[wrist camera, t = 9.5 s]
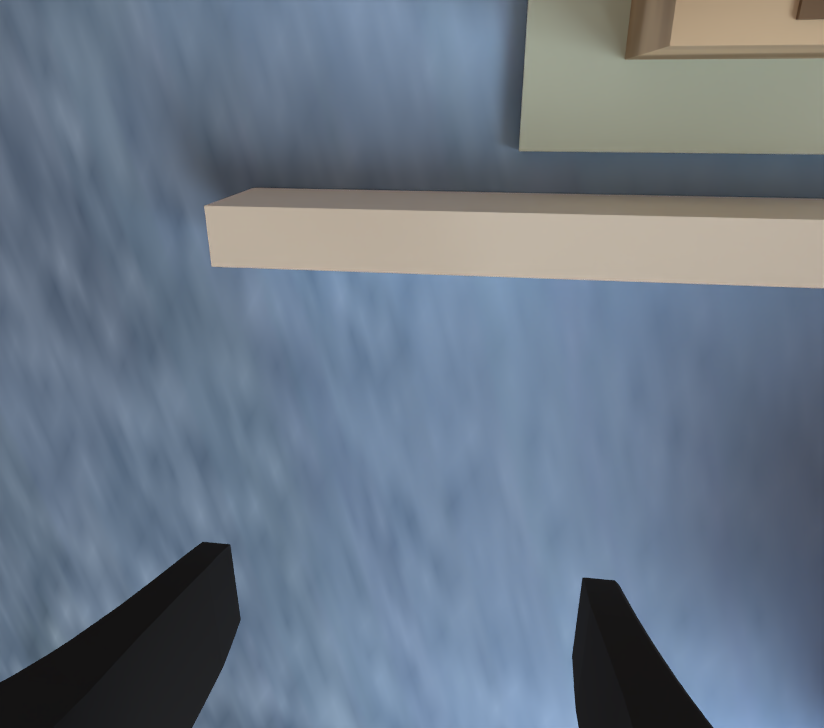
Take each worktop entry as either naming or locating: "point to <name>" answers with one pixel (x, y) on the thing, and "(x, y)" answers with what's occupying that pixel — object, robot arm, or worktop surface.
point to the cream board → (524, 235)
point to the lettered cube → (725, 29)
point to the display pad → (656, 92)
